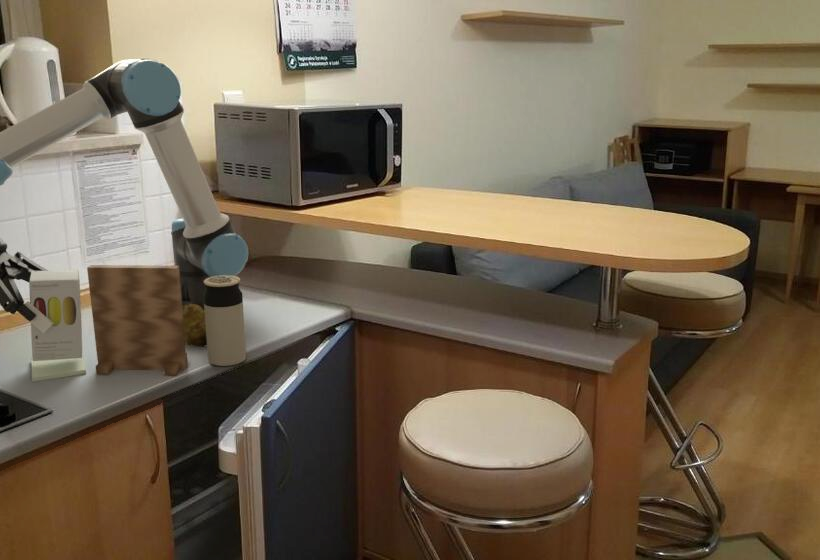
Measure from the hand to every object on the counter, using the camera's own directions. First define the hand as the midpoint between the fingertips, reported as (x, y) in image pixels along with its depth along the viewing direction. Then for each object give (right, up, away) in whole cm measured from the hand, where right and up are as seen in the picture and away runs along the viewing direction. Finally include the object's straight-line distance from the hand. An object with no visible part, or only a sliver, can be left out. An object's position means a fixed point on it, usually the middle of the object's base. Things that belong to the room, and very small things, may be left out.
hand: (62, 318), depth 162 cm
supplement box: (-2, -7, +2) cm, 8 cm away
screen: (+16, -11, +3) cm, 19 cm away
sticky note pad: (-2, -10, +3) cm, 11 cm away
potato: (+22, -6, +19) cm, 30 cm away
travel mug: (+32, -10, +7) cm, 34 cm away
